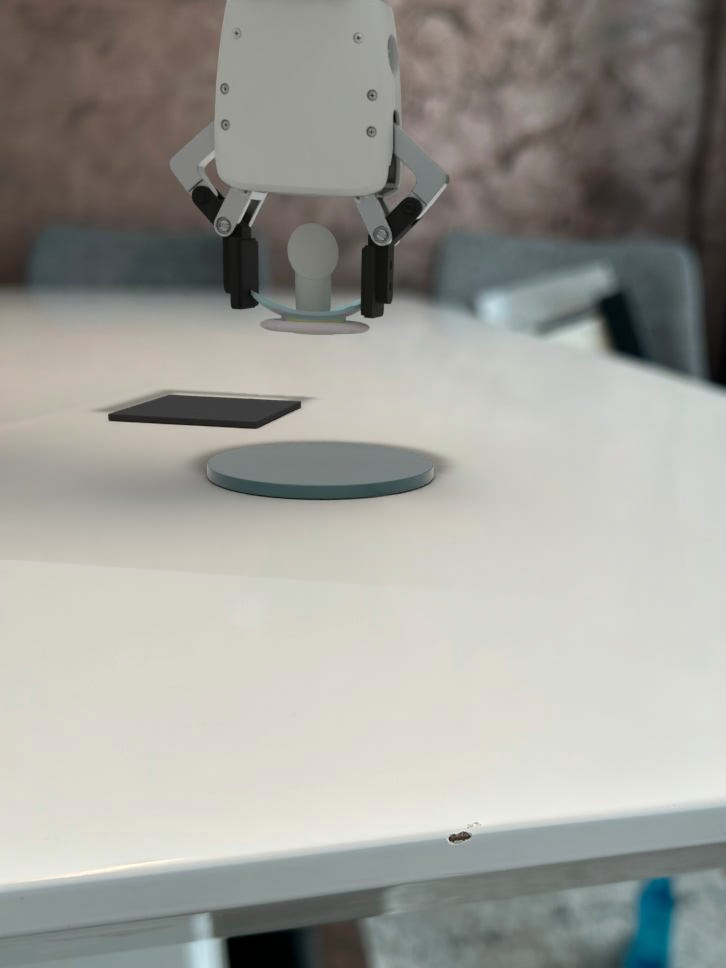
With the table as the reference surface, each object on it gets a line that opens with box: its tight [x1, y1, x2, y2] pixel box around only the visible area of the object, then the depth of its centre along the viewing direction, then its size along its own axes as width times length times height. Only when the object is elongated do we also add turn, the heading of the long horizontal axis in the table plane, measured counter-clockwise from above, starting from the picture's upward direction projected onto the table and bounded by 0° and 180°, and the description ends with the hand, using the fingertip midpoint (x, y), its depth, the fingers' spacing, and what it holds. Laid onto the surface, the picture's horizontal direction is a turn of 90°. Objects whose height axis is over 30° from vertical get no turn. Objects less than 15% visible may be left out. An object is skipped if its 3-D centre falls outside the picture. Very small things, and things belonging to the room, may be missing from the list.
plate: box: [206, 441, 435, 500], centre depth 69 cm, size 14×14×1 cm
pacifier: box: [251, 222, 371, 336], centre depth 65 cm, size 7×6×6 cm
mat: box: [107, 394, 302, 429], centre depth 91 cm, size 12×12×1 cm
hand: (308, 310), depth 66 cm, fingers closed on pacifier, 7 cm apart
